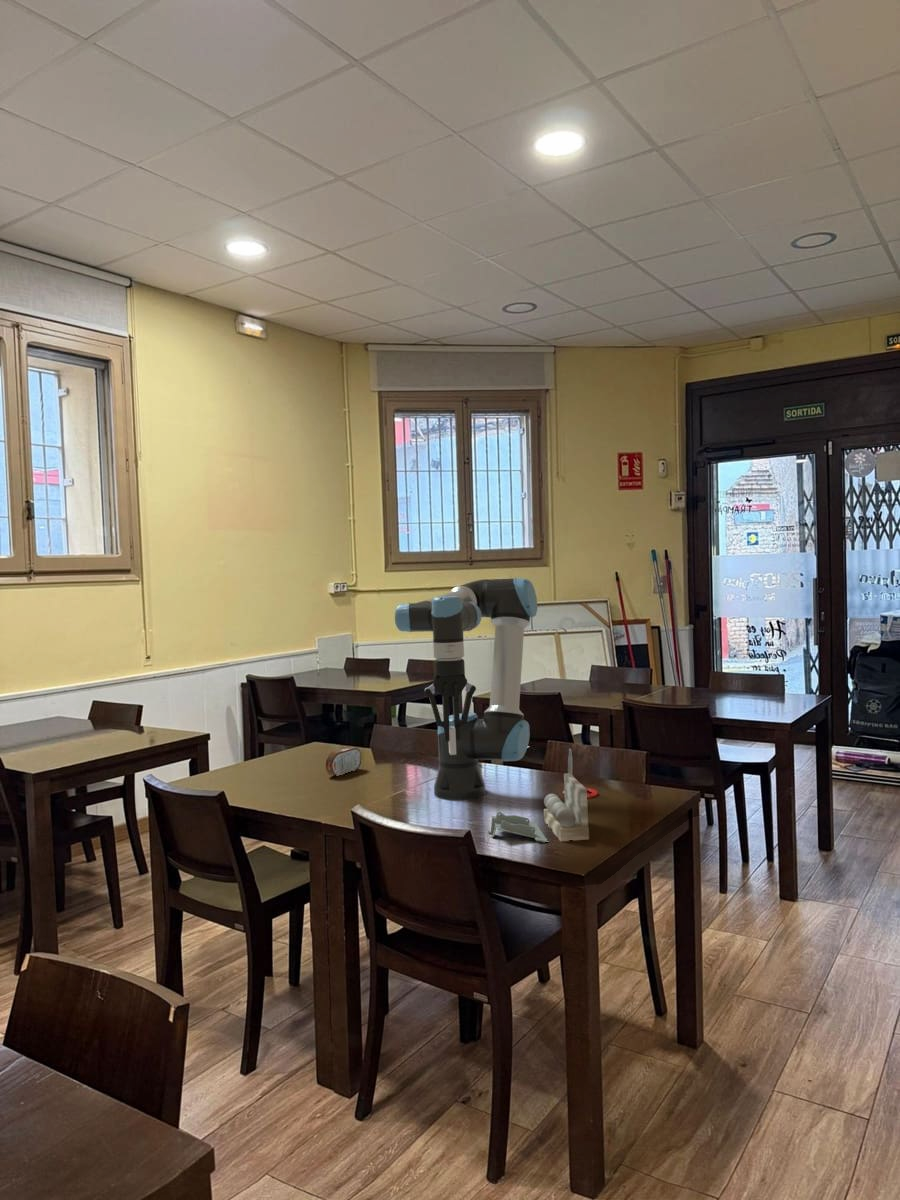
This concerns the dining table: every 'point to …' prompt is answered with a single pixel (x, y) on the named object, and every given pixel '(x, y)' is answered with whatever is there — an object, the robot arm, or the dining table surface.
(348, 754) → the tin
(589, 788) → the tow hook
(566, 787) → the hinge seat
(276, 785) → the dining table surface
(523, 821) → the metal bracket
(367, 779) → the dining table surface
